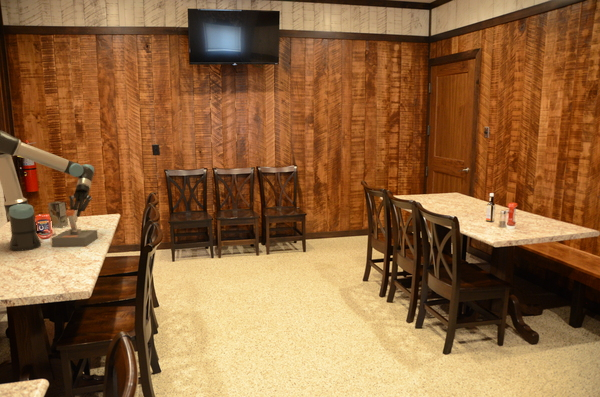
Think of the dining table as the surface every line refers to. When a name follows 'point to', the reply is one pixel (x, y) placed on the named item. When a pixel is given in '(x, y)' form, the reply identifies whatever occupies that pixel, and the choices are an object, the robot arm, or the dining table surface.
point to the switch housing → (74, 238)
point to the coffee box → (58, 214)
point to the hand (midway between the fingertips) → (74, 220)
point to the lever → (72, 220)
